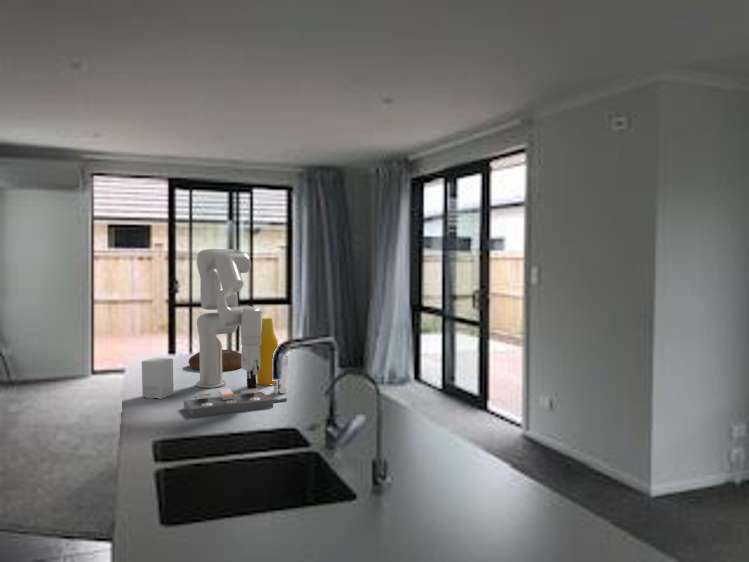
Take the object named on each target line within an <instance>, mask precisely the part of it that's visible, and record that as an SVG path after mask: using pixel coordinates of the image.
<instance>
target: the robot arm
mask: <svg viewBox="0 0 749 562" xmlns="http://www.w3.org/2000/svg"><path fill="white" fill-rule="evenodd" d="M251 263H252V262H251V259H250V256H249V255H248V254H246V253H245V252H243V251H240V250H238V249H234V248H208V249H202V250H200V251H199V252H198V253H197V255H196V266H197V271H198V273H199V279H200V282H199V284H200V286H199V287H200V293H199V294H200V306H201V308H202V309H204V310H207V311H208V310H209V311H211V310H213V311H215V310H216V311H217V312H207V313H202V314H201V315H199V316H198V318H197V320H196V327H197V331H198V339H199V340H198V343H199V352H200V370H199V380H198V381H197V382H195V383H196V384H195V385H196V387H198V388H202V389H203V388H204V389H205V388H206V389H211V388H212V389H214V388H220V387H221V388H222V387H224V386H226V384H227V381H226V380H225V379H223V371H222V350H223V344H222V341H221V340H220V339H219V338H218V336H219V335H226V334H233V333H235V332H236V331H237V329H238V327H240V345H241V353H240V354H241V368H240V369H242V370H244V371H246V388H247V389H255V388H257V371H259V370H260V347H259V345H261V329H262V312H261V309H260V308H256V307H254V306H250V305H246V306H243V305H242V306H240V305H239V299H238V298H239V297H238V292H240V291H241V290H242V289H243V288H244V280H243V278H242V277H243V276H242V275H241V274H247V273H249V272H250V270H251V269H252V268H251V266H252V264H251Z"/></svg>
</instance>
